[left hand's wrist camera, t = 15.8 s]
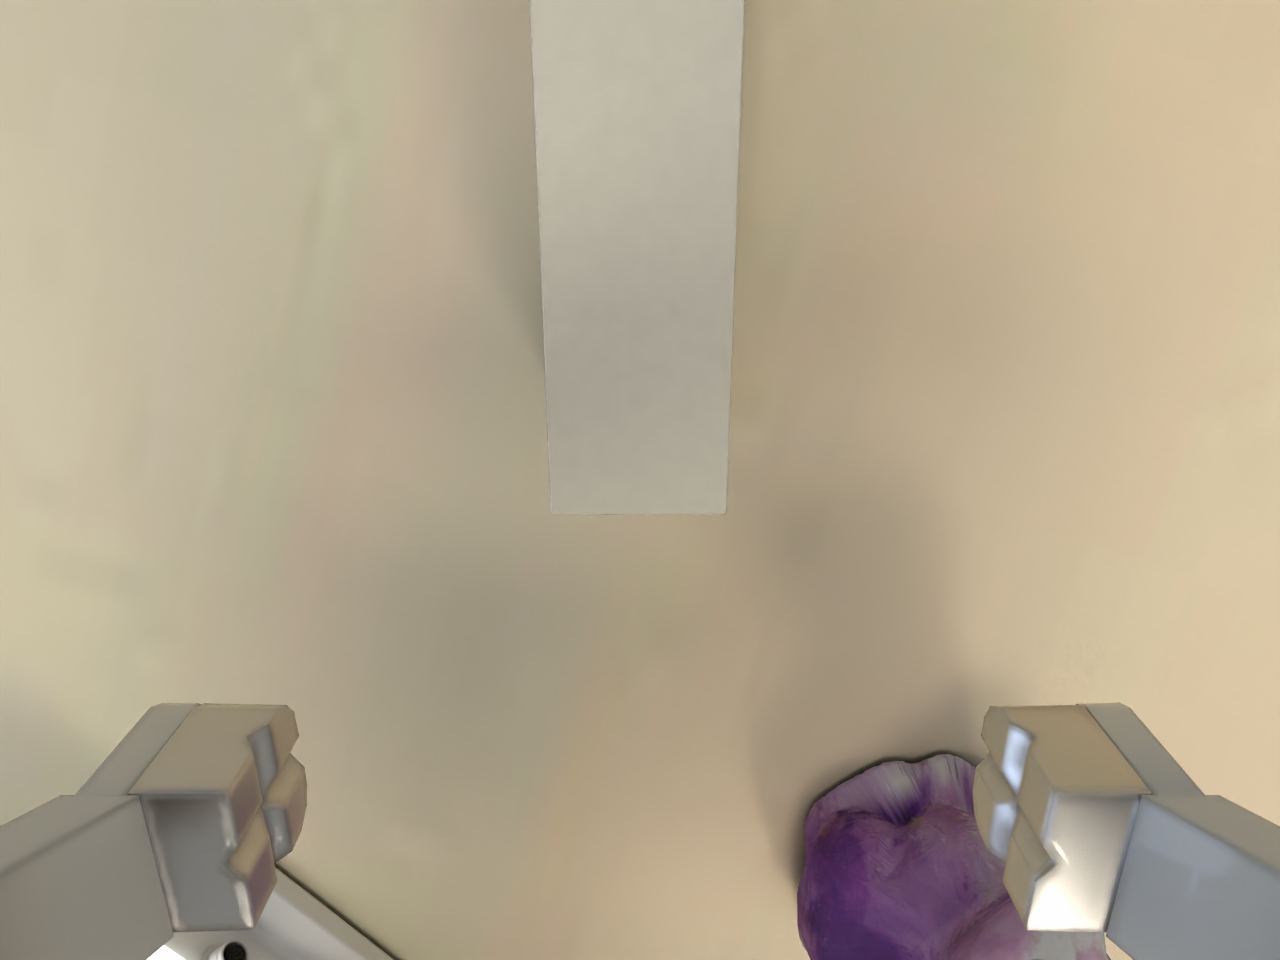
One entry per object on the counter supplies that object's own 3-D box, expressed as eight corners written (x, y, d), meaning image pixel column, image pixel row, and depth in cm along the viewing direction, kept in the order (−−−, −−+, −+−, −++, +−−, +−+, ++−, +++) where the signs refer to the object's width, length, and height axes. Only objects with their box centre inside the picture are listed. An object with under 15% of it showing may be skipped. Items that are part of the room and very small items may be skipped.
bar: (706, 425, 33) (727, 515, 25) (571, 425, 33) (550, 515, 25) (729, -467, 24) (771, -751, 16) (543, -467, 24) (498, -750, 16)
